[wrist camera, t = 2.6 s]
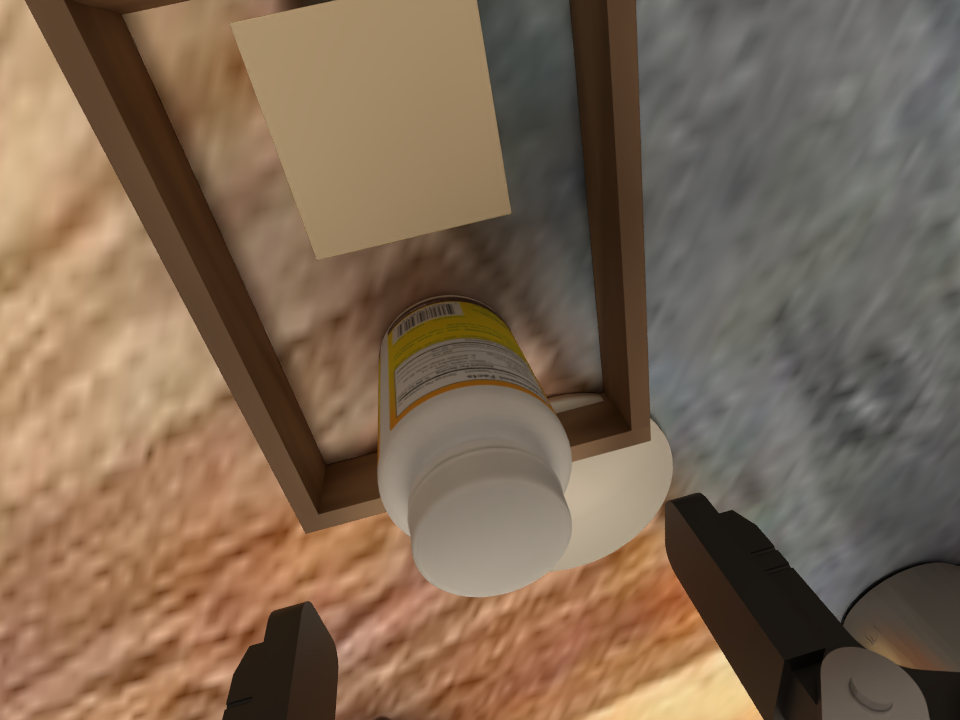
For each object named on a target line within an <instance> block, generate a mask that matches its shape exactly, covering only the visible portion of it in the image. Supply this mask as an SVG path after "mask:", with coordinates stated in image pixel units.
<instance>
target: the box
mask: <svg viewBox="0 0 960 720" xmlns="http://www.w3.org/2000/svg"><path fill="white" fill-rule="evenodd" d="M230 26H231V29H232V31H233V34H234V37H235V40H236V42H237V45H238V48H239V50H240V53H241V56H242V59H243V61H244V64H245V67H246V69H247V72H248V75H249V77H250V80H251V83H252V86H253V88H254V91H255V94H256V96H257V99H258V102H259V105H260V107H261V110H262V113H263V115H264V118H265V121H266V124H267V126H268V129H269V132H270V134H271V137H272V140H273V143H274V145H275V148H276V151H277V153H278V156H279V159H280V162H281V164H282V167H283V170H284V172H285V175H286V178H287V181H288V183H289V186H290V189H291V191H292V194H293V197H294V200H295V202H296V205H297V208H298V210H299V213H300V216H301V219H302V221H303V224H304V227H305V229H306V232H307V235H308V238H309V240H310V243H311V246H312V248H313V251H314V254H315V256H316V259H317V260H321V259H325V258H329V257H333V256H337V255H341V254H345V253H350V252H354V251H358V250H362V249H366V248H370V247H374V246H379V245H383V244H387V243H391V242H395V241H399V240H403V239H408V238H412V237H416V236H420V235H424V234H428V233H433V232H437V231H441V230H445V229H449V228H453V227H457V226H462V225H466V224H470V223H474V222H478V221H482V220H486V219H491V218H495V217H499V216H503V215H507V214H511V208H510V202H509V195H508V189H507V183H506V177H505V171H504V165H503V158H502V152H501V146H500V140H499V134H498V128H497V121H496V115H495V109H494V103H493V97H492V91H491V84H490V78H489V72H488V66H487V60H486V54H485V47H484V41H483V35H482V29H481V23H480V17H479V10H478V4H477V0H335V1H330V2H326V3H321V4H316V5H312V6H307V7H302V8H298V9H293V10H288V11H284V12H279V13H274V14H270V15H265V16H260V17H256V18H251V19H246V20H242V21H237V22H232V23H230Z"/></svg>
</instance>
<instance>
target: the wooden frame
mask: <svg viewBox="0 0 960 720" xmlns="http://www.w3.org/2000/svg"><path fill="white" fill-rule="evenodd" d="M25 1H26V3H27V5H28V7H29V9H30V11H31V13H32V15H33V17H34V19H35V20H36V22H37V24H38V26H39V28H40V30H41V32H42V34H43V36H44V38H45V39H46V41H47V43H48V45H49V47H50V49H51V51H52V53H53V55H54V57H55V58H56V60H57V62H58V64H59V66H60V68H61V70H62V72H63V74H64V76H65V77H66V79H67V81H68V83H69V85H70V87H71V89H72V91H73V93H74V95H75V96H76V98H77V100H78V102H79V104H80V106H81V108H82V110H83V112H84V114H85V115H86V117H87V119H88V121H89V123H90V125H91V127H92V129H93V131H94V132H95V134H96V136H97V138H98V140H99V142H100V144H101V146H102V148H103V150H104V151H105V153H106V155H107V157H108V159H109V161H110V163H111V165H112V167H113V169H114V170H115V172H116V174H117V176H118V178H119V180H120V182H121V184H122V186H123V188H124V189H125V191H126V193H127V195H128V197H129V199H130V201H131V203H132V205H133V207H134V208H135V210H136V212H137V214H138V216H139V218H140V220H141V222H142V224H143V226H144V227H145V229H146V231H147V233H148V235H149V237H150V239H151V241H152V243H153V245H154V246H155V248H156V250H157V252H158V254H159V256H160V258H161V260H162V262H163V264H164V265H165V267H166V269H167V271H168V273H169V275H170V277H171V279H172V281H173V283H174V284H175V286H176V288H177V290H178V292H179V294H180V296H181V298H182V300H183V302H184V303H185V305H186V307H187V309H188V311H189V313H190V315H191V317H192V319H193V321H194V322H195V324H196V326H197V328H198V330H199V332H200V334H201V336H202V338H203V340H204V341H205V343H206V345H207V347H208V349H209V351H210V353H211V355H212V357H213V359H214V360H215V362H216V364H217V366H218V368H219V370H220V372H221V374H222V376H223V378H224V379H225V381H226V383H227V385H228V387H229V389H230V391H231V393H232V395H233V397H234V398H235V400H236V402H237V404H238V406H239V408H240V410H241V412H242V414H243V416H244V417H245V419H246V421H247V423H248V425H249V427H250V429H251V431H252V433H253V435H254V436H255V438H256V440H257V442H258V444H259V446H260V448H261V450H262V452H263V454H264V455H265V457H266V459H267V461H268V463H269V465H270V467H271V469H272V471H273V473H274V474H275V476H276V478H277V480H278V482H279V484H280V486H281V488H282V490H283V492H284V493H285V495H286V497H287V499H288V501H289V503H290V505H291V507H292V509H293V511H294V512H295V514H296V516H297V518H298V520H299V522H300V524H301V526H302V528H303V530H304V531H305V533H306V534H307V533H310V532H314V531H318V530H322V529H325V528H329V527H333V526H336V525H340V524H344V523H348V522H351V521H355V520H359V519H362V518H366V517H370V516H374V515H377V514H381V513H385V512H386V510H385V507H384V505H383V503H382V500H381V497H380V493H379V487H378V476H377V462H378V452H376V453H372V454H368V455H364V456H361V457H357V458H353V459H349V460H345V461H342V462H338V463H334V464H330V465H325V462H324V460H323V458H322V456H321V454H320V451H319V449H318V447H317V445H316V443H315V440H314V438H313V436H312V434H311V432H310V429H309V427H308V425H307V423H306V421H305V418H304V416H303V414H302V412H301V409H300V407H299V405H298V403H297V401H296V398H295V396H294V394H293V392H292V390H291V387H290V385H289V383H288V381H287V379H286V376H285V374H284V372H283V370H282V368H281V365H280V363H279V361H278V359H277V357H276V354H275V352H274V350H273V348H272V346H271V343H270V341H269V339H268V337H267V335H266V332H265V330H264V328H263V326H262V324H261V321H260V319H259V317H258V315H257V313H256V310H255V308H254V306H253V304H252V302H251V299H250V297H249V295H248V293H247V291H246V288H245V286H244V284H243V282H242V280H241V277H240V275H239V273H238V271H237V269H236V266H235V264H234V262H233V260H232V258H231V255H230V253H229V251H228V249H227V247H226V244H225V242H224V240H223V238H222V236H221V233H220V231H219V229H218V227H217V225H216V222H215V220H214V218H213V216H212V213H211V211H210V209H209V207H208V205H207V202H206V200H205V198H204V196H203V194H202V191H201V189H200V187H199V185H198V183H197V180H196V178H195V176H194V174H193V172H192V169H191V167H190V165H189V163H188V161H187V158H186V156H185V154H184V152H183V150H182V147H181V145H180V143H179V141H178V139H177V136H176V134H175V132H174V130H173V128H172V125H171V123H170V121H169V119H168V117H167V114H166V112H165V110H164V108H163V106H162V103H161V101H160V99H159V97H158V95H157V92H156V90H155V88H154V86H153V84H152V81H151V79H150V77H149V75H148V73H147V70H146V68H145V66H144V64H143V62H142V59H141V57H140V55H139V53H138V51H137V48H136V46H135V44H134V42H133V40H132V37H131V35H130V33H129V31H128V29H127V26H126V24H125V22H124V20H123V17H122V14H127V13H131V12H136V11H141V10H146V9H150V8H155V7H160V6H165V5H169V4H174V3H179V2H184V1H188V0H25ZM570 10H571V22H572V33H573V45H574V56H575V67H576V79H577V90H578V102H579V113H580V124H581V136H582V147H583V159H584V170H585V181H586V193H587V204H588V216H589V227H590V238H591V250H592V261H593V273H594V284H595V295H596V307H597V318H598V330H599V341H600V352H601V364H602V375H603V387H604V393H600V396H601V397H602V398H603V400H604V401H601V402H598V403H594V404H590V405H586V406H583V407H579V408H575V409H571V410H567V411H564V412H560V413H556V415H557V417H558V419H559V420H560V422H561V424H562V426H563V428H564V430H565V433H566V435H567V437H568V440H569V443H570V448H571V455H572V462H574V461H578V460H582V459H585V458H589V457H593V456H597V455H600V454H604V453H608V452H611V451H615V450H619V449H623V448H626V447H630V446H634V445H637V444H641V443H645V442H649V441H651V428H650V399H649V370H648V341H647V312H646V283H645V253H644V224H643V195H642V166H641V137H640V108H639V79H638V50H637V21H636V0H570Z"/></svg>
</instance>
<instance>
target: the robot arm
mask: <svg viewBox="0 0 960 720" xmlns="http://www.w3.org/2000/svg"><path fill="white" fill-rule="evenodd" d="M665 546H666V552H667V556H668V559H669V562H670V564H671V566H672V569H673V571H674V573H675V574H676V576H677V578H678V579H679V581H680V583H681V584H682V586H683V588H684V589H685V591H686V593H687V594H688V596H689V598H690V599H691V601H692V602H693V604H694V606H695V607H696V609H697V611H698V612H699V614H700V616H701V617H702V619H703V621H704V622H705V624H706V625H707V627H708V629H709V630H710V632H711V634H712V635H713V637H714V639H715V640H716V642H717V644H718V645H719V647H720V648H721V650H722V652H723V653H724V655H725V657H726V658H727V660H728V662H729V663H730V665H731V667H732V668H733V670H734V671H735V673H736V675H737V676H738V678H739V680H740V681H741V683H742V685H743V686H744V688H745V690H746V691H747V693H748V694H749V696H750V698H751V699H752V701H753V703H754V704H755V706H756V708H757V709H758V711H759V713H760V714H761V716H762V717H763V719H764V720H960V566H956V565H952V564H949V563H939V562H936V563H929V564H923V565H919V566H916V567H912V568H910V569H907V570H905V571H902V572H900V573H898V574H896V575H894V576H892V577H890V578H888V579H886V580H885V581H883V582H882V583H880V584H879V585H877V586H876V587H874V588H873V589H871V590H870V591H869V592H868V593H867V594H866V595H864V596H863V597H862V598H861V599H860V600H859V601H858V602H857V603H856V604H855V606H854V607H853V608H852V609H851V611H850V612H849V614H848V615H847V617H846V619H845V622H844V624H843V625H842V624H841V623H840V622H839V621H838V620H837V618H836V617H835V616H834V615H833V614H832V613H831V611H830V610H829V609H828V608H827V607H826V606H825V604H824V603H823V602H822V601H821V600H820V599H819V597H818V596H817V595H816V594H815V593H814V592H813V591H812V589H811V588H810V587H809V586H808V585H807V584H806V582H805V581H804V580H803V579H802V578H801V577H800V575H799V574H798V573H797V572H796V571H795V570H794V568H791V567H790V565H789V563H788V561H787V560H786V559H785V558H784V557H783V556H782V554H781V553H780V552H779V551H778V550H775V548H774V545H773V544H772V543H771V542H770V541H769V539H768V538H767V537H766V536H765V535H764V534H763V532H762V531H761V530H760V529H759V528H758V527H757V525H755V524H754V523H752V522H750V521H749V520H747V519H746V518H744V517H742V516H741V515H739V514H738V513H736V512H735V511H733V510H730V511H726V512H723V513H718V512H717V510H716V509H715V508H714V507H713V505H712V504H711V503H710V502H709V500H708V499H707V498H706V497H705V496H704V495H703V494H701V493H694V494H691V495H687V496H684V497H680V498H677V499H673V500H670V501H667V502H666V504H665ZM337 681H338V657H337V651H336V647H335V644H334V641H333V639H332V637H331V635H330V634H329V632H328V630H327V628H326V627H325V625H324V623H323V622H322V620H321V618H320V616H319V615H318V613H317V611H316V610H315V608H314V606H313V605H312V603H311V602H309V601H307V602H303V603H300V604H296V605H293V606H289V607H286V608H282V609H278V610H275V611H273V612H272V613H271V614H270V616H269V619H268V623H267V628H266V633H265V637H264V642H262V643H259V644H255V645H252V646H249V648H248V650H247V652H246V653H245V655H244V657H243V659H242V660H241V662H240V664H239V666H238V667H237V669H236V671H235V673H234V674H233V678H232V682H231V686H230V690H229V695H228V699H227V703H226V705H227V709H226V710H225V711H224V715H223V719H222V720H335V711H336V696H337Z"/></svg>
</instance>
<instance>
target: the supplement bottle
mask: <svg viewBox="0 0 960 720" xmlns="http://www.w3.org/2000/svg"><path fill="white" fill-rule="evenodd" d="M571 469H572V455H571V448H570V443H569V440H568V437H567V435H566V433H565V430H564V428H563V426H562V424H561V422H560V420H559V419H558V417H557V415H556V413H555V411H554V410H553V408H552V406H551V404H550V402H549V401H548V399H547V397H546V395H545V393H544V391H543V390H542V388H541V386H540V384H539V382H538V380H537V378H536V377H535V375H534V373H533V371H532V369H531V368H530V366H529V364H528V362H527V360H526V358H525V356H524V355H523V353H522V351H521V349H520V347H519V346H518V344H517V342H516V340H515V338H514V336H513V334H512V332H511V330H510V329H509V327H508V326H507V324H506V323H505V322H504V320H503V319H502V318H501V317H500V316H499V315H498V314H497V313H496V312H495V311H494V310H493V309H492V308H490V307H489V306H487V305H485V304H484V303H482V302H480V301H477V300H475V299H472V298H468V297H464V296H457V295H442V296H436V297H431V298H427V299H425V300H422V301H420V302H418V303H416V304H414V305H412V306H410V307H409V308H407V309H406V310H405V311H403V312H402V313H401V314H400V315H399V316H398V317H397V318H396V319H395V320H394V321H393V323H392V324H391V325H390V327H389V328H388V330H387V332H386V334H385V336H384V338H383V341H382V344H381V348H380V354H379V388H378V462H377V476H378V487H379V493H380V497H381V500H382V503H383V505H384V507H385V510H386V512H387V513H388V515H389V517H390V518H391V519H392V521H393V522H394V523H395V524H396V525H397V526H398V527H399V528H400V529H401V530H402V531H403V532H404V533H406V534H407V535H408V536H410V537H411V548H412V555H413V558H414V561H415V564H416V566H417V568H418V570H419V571H420V573H421V574H422V575H423V576H424V577H425V579H426V580H427V581H429V582H430V583H431V584H433V585H434V586H436V587H437V588H439V589H441V590H444V591H446V592H449V593H452V594H456V595H460V596H467V597H490V596H496V595H501V594H505V593H509V592H513V591H515V590H518V589H520V588H523V587H525V586H527V585H529V584H531V583H533V582H534V581H536V580H538V579H539V578H541V577H542V576H543V575H545V574H546V573H547V572H549V571H550V570H551V569H552V568H553V567H554V566H555V565H556V563H557V562H558V561H559V560H560V559H561V557H562V556H563V554H564V553H565V551H566V549H567V547H568V544H569V542H570V539H571V533H572V519H571V514H570V510H569V508H568V505H567V502H566V500H565V497H564V493H565V491H566V489H567V486H568V483H569V480H570V475H571Z"/></svg>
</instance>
